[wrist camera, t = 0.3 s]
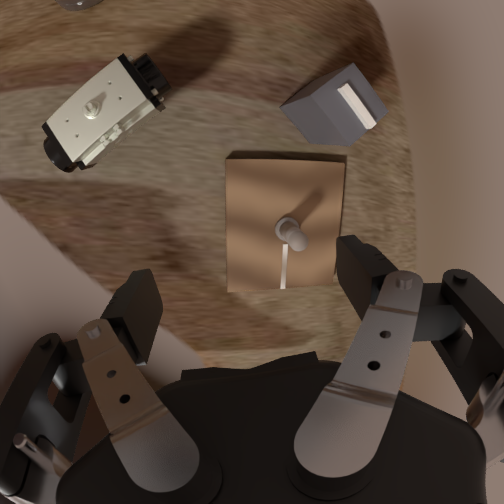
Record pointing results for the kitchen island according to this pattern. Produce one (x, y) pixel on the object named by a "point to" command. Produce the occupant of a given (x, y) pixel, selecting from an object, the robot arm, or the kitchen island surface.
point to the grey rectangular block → (335, 107)
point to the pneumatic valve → (104, 112)
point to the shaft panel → (281, 222)
